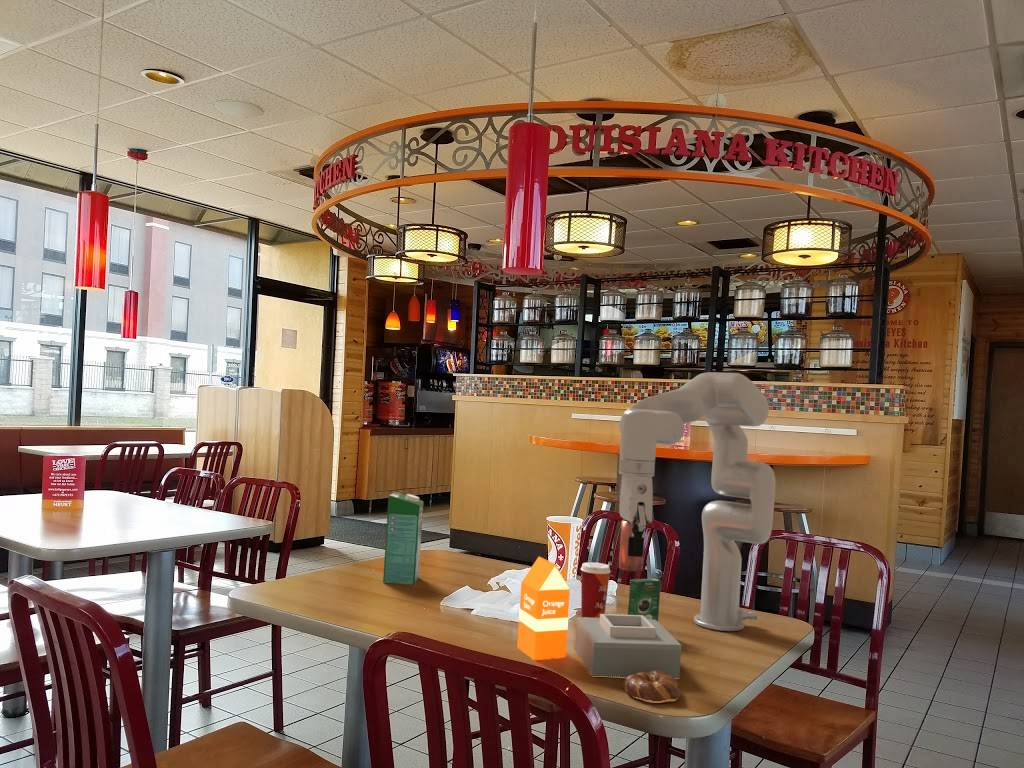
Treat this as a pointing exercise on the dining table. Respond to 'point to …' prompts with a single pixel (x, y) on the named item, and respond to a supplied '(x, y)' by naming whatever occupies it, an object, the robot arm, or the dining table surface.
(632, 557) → the spout can
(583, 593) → the paper cup
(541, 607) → the orange juice
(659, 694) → the pretzel
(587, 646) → the grey square box
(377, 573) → the dining table surface
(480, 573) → the dining table surface
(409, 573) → the milk carton
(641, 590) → the coffee box
